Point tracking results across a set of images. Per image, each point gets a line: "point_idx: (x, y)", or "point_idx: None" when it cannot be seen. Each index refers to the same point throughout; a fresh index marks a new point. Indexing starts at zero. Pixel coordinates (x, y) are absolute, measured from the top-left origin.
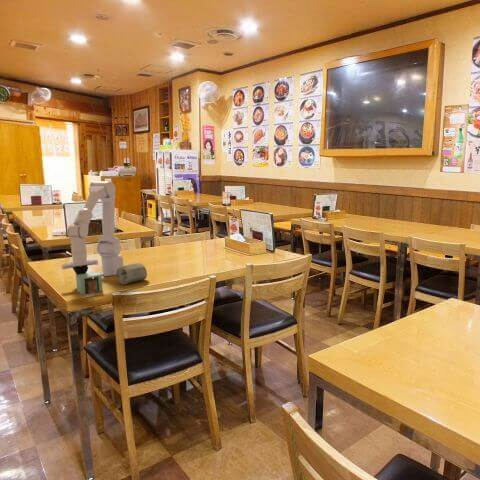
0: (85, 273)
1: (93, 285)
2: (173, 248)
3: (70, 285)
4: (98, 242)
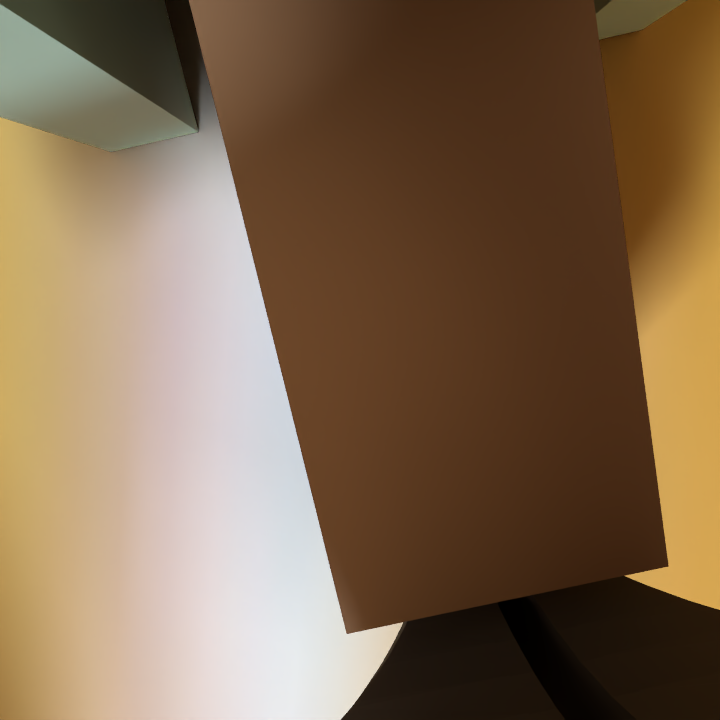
0: (392, 672)
1: None
2: None
3: None
4: None
